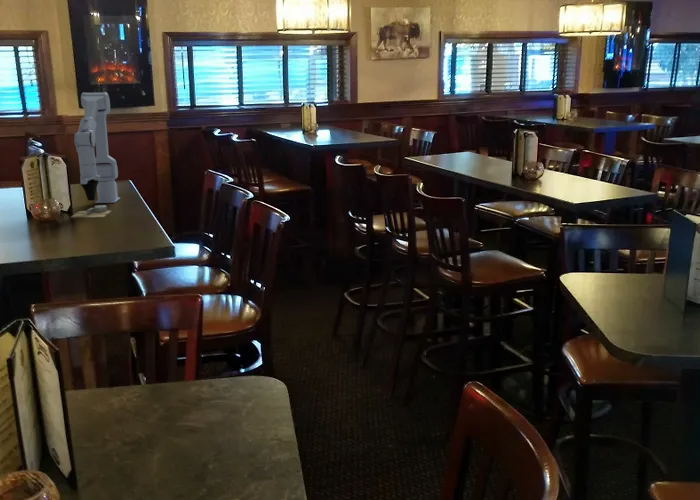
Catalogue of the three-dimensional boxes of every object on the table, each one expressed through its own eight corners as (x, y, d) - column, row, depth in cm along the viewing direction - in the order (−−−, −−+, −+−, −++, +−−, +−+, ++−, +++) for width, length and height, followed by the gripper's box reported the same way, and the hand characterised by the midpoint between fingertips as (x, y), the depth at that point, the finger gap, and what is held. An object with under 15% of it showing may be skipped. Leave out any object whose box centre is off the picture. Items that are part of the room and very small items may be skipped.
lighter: (106, 205, 265) (106, 208, 258) (106, 209, 266) (106, 213, 258) (86, 206, 263) (86, 210, 256) (87, 210, 263) (86, 214, 256)
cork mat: (79, 212, 263) (79, 211, 263) (111, 211, 264) (111, 210, 264) (70, 218, 253) (70, 217, 252) (103, 217, 253) (103, 216, 253)
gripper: (92, 166, 248) (96, 203, 252) (103, 161, 262) (107, 196, 266) (72, 167, 248) (77, 204, 252) (85, 161, 262) (88, 196, 266)
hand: (91, 200), depth 259 cm, fingers closed
